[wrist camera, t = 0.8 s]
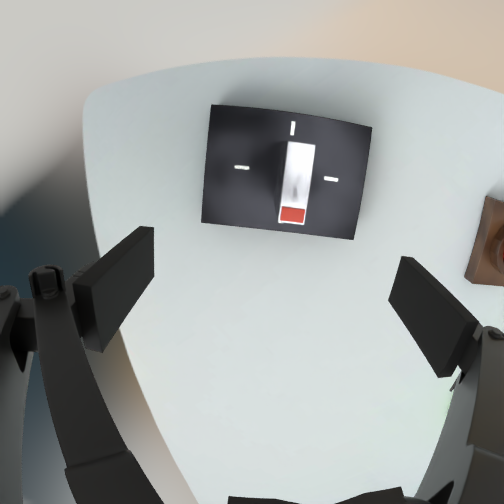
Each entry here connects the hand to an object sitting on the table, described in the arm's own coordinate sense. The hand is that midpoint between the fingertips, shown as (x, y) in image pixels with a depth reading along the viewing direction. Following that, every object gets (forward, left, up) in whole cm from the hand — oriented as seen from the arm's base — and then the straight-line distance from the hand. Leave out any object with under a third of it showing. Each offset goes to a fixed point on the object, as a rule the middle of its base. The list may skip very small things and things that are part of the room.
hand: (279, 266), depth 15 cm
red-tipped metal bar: (-3, +1, -16) cm, 16 cm away
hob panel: (-3, +1, -19) cm, 19 cm away
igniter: (+1, +34, -19) cm, 39 cm away
